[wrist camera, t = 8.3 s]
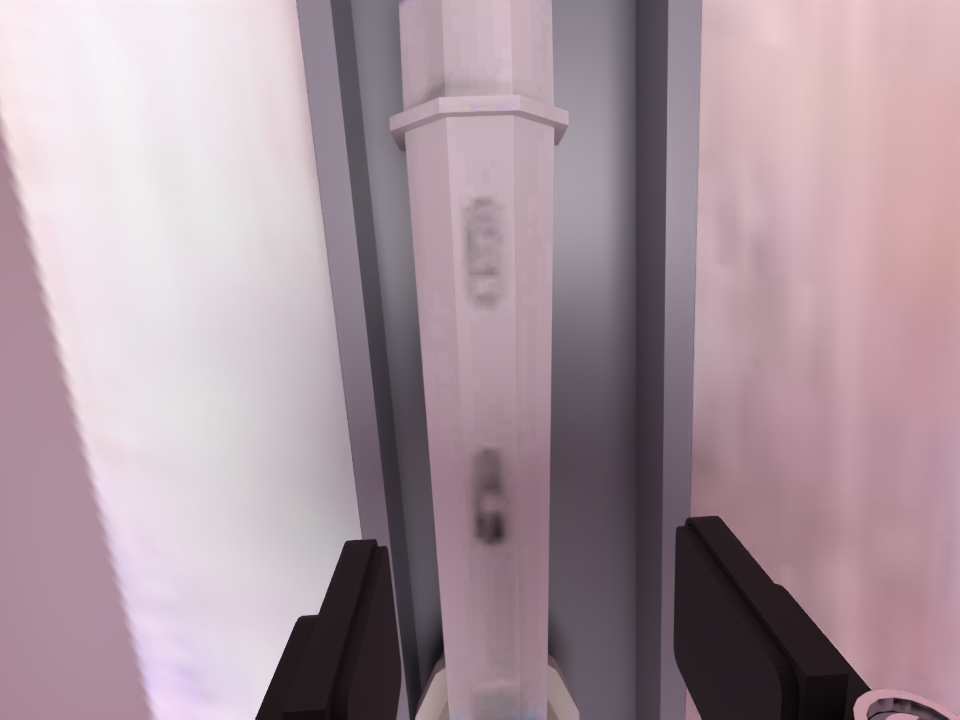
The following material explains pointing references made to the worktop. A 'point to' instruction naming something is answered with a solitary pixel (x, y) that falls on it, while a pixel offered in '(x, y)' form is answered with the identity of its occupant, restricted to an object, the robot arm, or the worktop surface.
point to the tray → (575, 332)
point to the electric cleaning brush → (486, 340)
